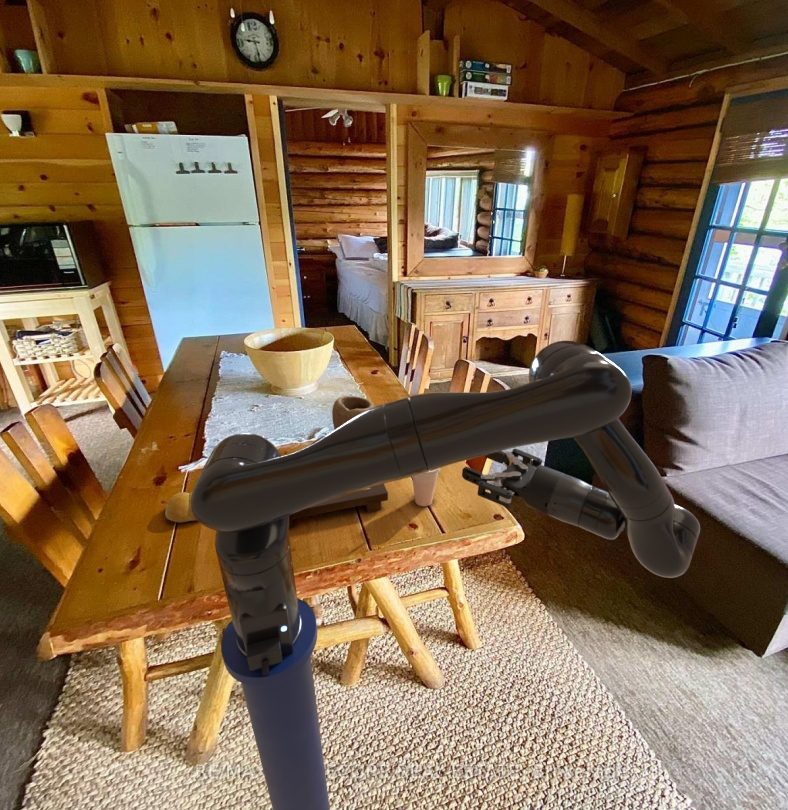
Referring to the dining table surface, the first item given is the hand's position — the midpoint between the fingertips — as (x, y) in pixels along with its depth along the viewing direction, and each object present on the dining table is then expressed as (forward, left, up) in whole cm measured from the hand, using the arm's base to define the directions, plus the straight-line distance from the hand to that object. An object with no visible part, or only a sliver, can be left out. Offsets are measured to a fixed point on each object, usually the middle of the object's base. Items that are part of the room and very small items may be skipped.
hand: (475, 461), depth 82 cm
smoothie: (+9, +6, -15) cm, 19 cm away
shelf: (+15, +26, -15) cm, 34 cm away
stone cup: (+32, +18, -15) cm, 40 cm away
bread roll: (+20, +53, -15) cm, 59 cm away
